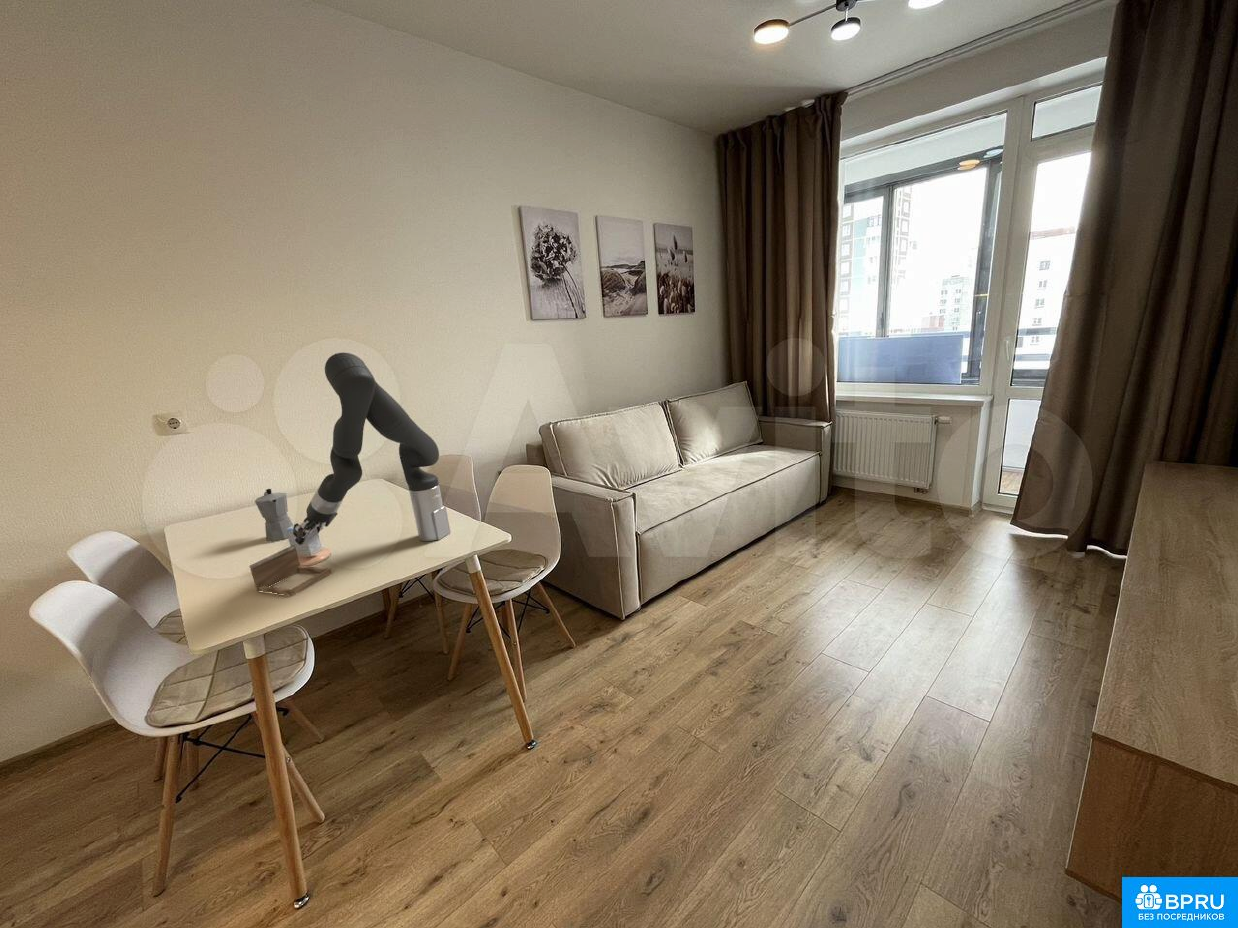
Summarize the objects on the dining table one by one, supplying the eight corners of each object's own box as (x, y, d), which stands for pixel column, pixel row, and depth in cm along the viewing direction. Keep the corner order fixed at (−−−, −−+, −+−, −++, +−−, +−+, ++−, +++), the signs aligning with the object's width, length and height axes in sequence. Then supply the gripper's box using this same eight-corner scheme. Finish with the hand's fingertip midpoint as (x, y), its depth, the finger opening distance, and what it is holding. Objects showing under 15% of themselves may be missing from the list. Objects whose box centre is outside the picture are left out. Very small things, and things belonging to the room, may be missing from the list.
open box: (332, 573, 147) (325, 547, 145) (291, 596, 136) (283, 568, 134) (299, 569, 152) (292, 544, 150) (257, 591, 140) (248, 565, 138)
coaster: (339, 552, 162) (339, 549, 162) (306, 569, 151) (306, 566, 151) (311, 549, 166) (311, 546, 166) (277, 566, 155) (277, 563, 155)
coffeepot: (301, 536, 179) (288, 488, 174) (270, 545, 173) (255, 496, 168) (291, 526, 190) (278, 481, 185) (261, 535, 184) (247, 488, 179)
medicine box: (323, 549, 159) (316, 524, 157) (311, 556, 155) (303, 530, 153) (305, 548, 162) (297, 523, 159) (292, 554, 158) (284, 528, 155)
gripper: (313, 521, 143) (293, 557, 150) (353, 503, 156) (333, 537, 163) (294, 503, 143) (275, 540, 150) (336, 487, 156) (316, 521, 163)
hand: (305, 538), depth 157 cm, fingers closed on medicine box, 4 cm apart
